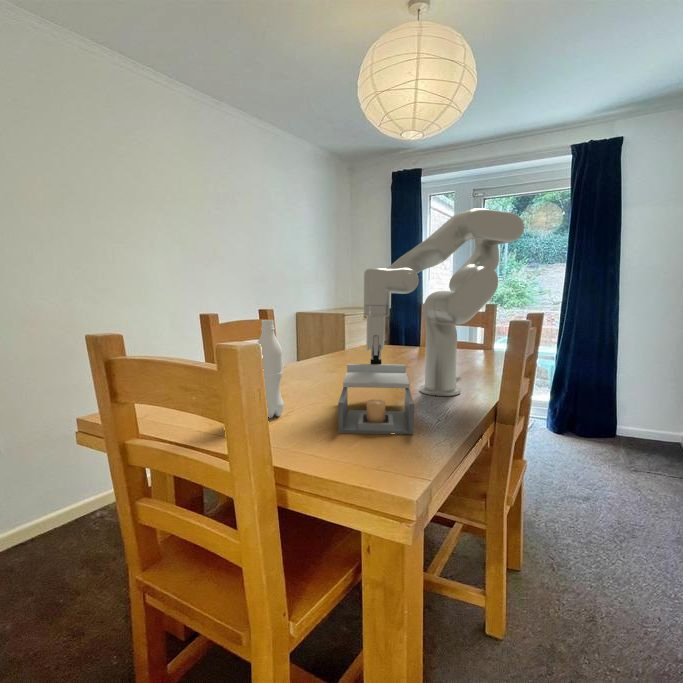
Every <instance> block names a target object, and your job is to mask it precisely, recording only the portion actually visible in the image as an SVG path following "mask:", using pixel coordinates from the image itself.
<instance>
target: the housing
mask: <svg viewBox="0 0 683 683" xmlns="http://www.w3.org/2000/svg"><path fill="white" fill-rule="evenodd" d="M348 388H349V387H343V386H342V390H341V394H340V396H339V400H338V402H337V403H338V406H337V407H338V409H337V410H338V434H359V433H361V434H363V435H365V434H366V435H371V434H372V435H392V434H391V433H395V434H394V435H397V434H413V435H414V424H415V423H414V422H415V421H414V420H415V418H414V415H415V412H414V411H415V403H414V400H413V397H412V393H411V390H410V388H404V411H403V410H385V423H367V409H366V410H363V409H359V410H358V409H349V408H348V407H349V406H348V404H349V403H348V402H349V401H348V396H349V394H348ZM368 433H370V434H368Z"/></svg>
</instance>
